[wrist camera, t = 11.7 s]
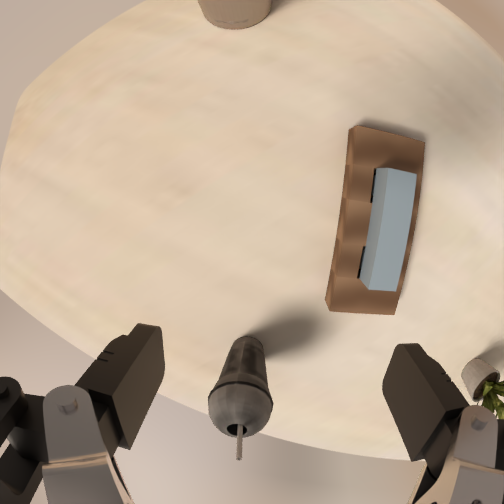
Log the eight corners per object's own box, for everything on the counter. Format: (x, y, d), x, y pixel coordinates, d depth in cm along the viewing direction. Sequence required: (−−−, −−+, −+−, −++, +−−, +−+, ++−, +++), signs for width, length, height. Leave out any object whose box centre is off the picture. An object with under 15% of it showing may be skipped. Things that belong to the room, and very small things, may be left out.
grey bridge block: (367, 168, 32) (388, 167, 26) (392, 173, 32) (416, 174, 26) (352, 270, 36) (368, 289, 30) (377, 272, 36) (395, 291, 30)
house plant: (424, 387, 41) (461, 449, 25) (473, 327, 38) (527, 377, 22) (458, 403, 42) (491, 454, 27) (501, 352, 39) (544, 396, 23)
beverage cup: (213, 354, 41) (180, 464, 21) (238, 319, 39) (214, 431, 20) (255, 376, 41) (246, 487, 22) (282, 343, 40) (289, 459, 20)
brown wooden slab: (348, 129, 32) (356, 125, 29) (412, 144, 32) (424, 142, 28) (325, 299, 38) (329, 311, 34) (385, 304, 37) (394, 315, 34)
